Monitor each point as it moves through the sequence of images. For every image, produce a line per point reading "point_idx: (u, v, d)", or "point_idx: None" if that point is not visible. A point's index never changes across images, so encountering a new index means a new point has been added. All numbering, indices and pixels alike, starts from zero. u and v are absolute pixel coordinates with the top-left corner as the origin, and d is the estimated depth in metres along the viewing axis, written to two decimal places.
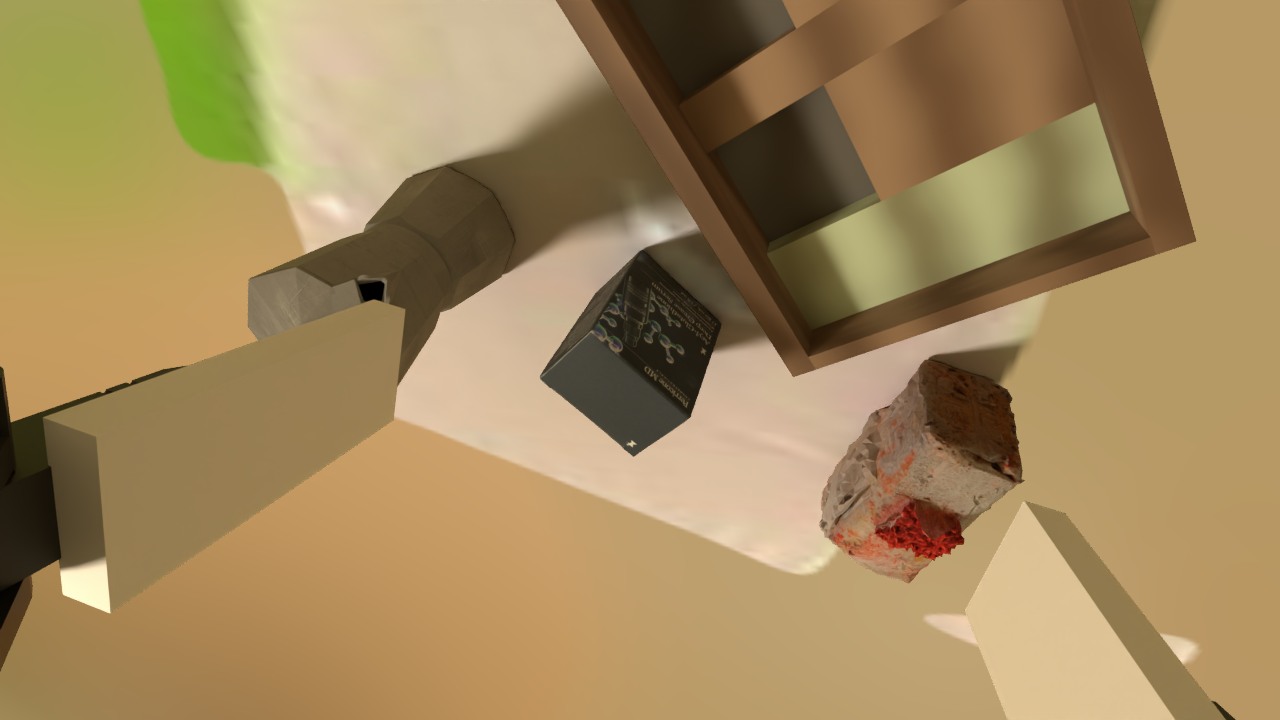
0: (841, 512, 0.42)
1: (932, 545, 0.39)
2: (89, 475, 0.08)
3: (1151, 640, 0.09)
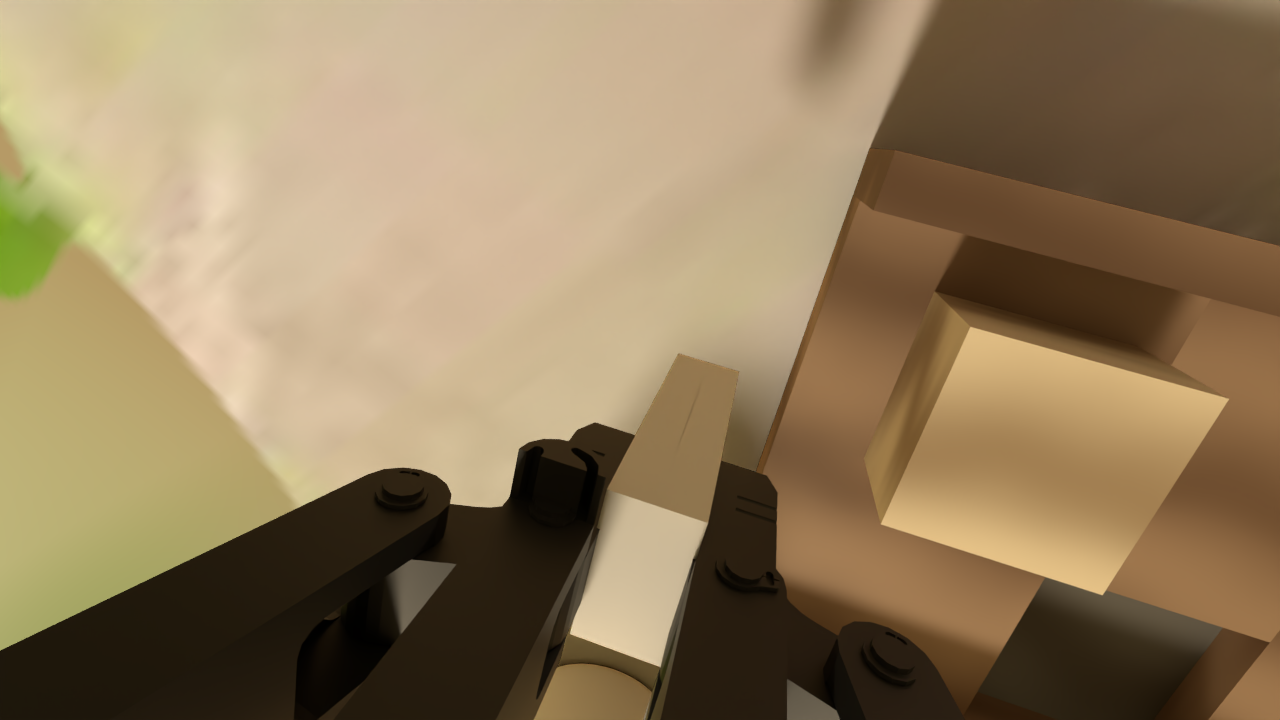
0: None
1: None
2: (636, 537, 0.09)
3: (714, 427, 0.12)
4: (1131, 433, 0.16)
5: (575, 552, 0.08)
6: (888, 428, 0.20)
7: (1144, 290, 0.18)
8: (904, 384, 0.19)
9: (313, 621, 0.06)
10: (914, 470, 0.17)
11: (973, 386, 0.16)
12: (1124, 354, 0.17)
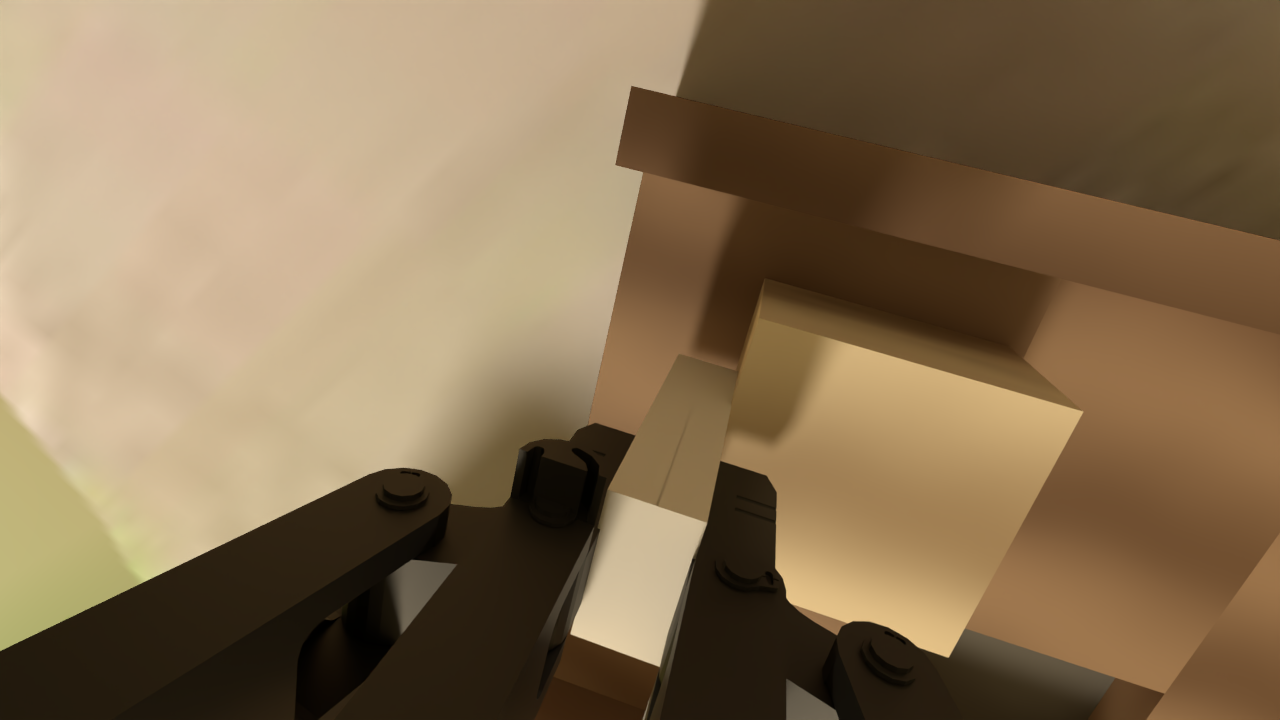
0: None
1: None
2: (637, 537, 0.09)
3: (714, 427, 0.12)
4: (965, 454, 0.12)
5: (576, 552, 0.08)
6: None
7: (983, 266, 0.15)
8: None
9: (313, 622, 0.06)
10: None
11: (770, 395, 0.12)
12: (974, 354, 0.13)
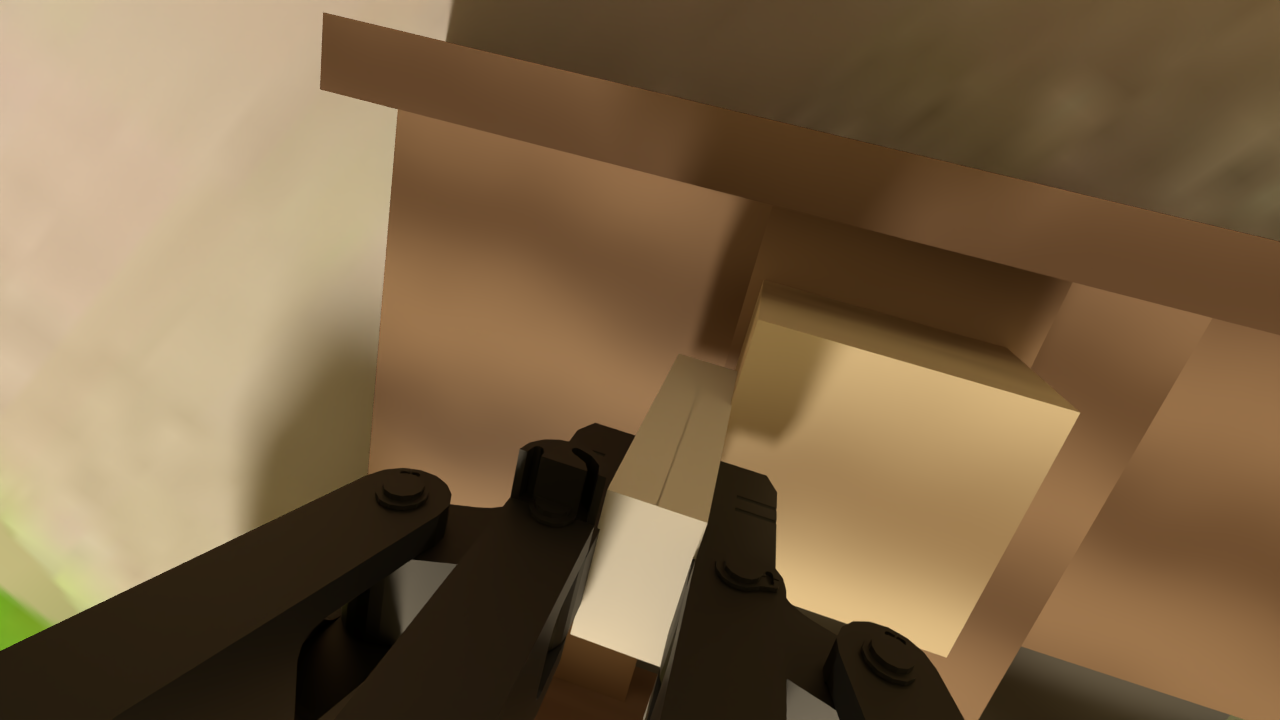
0: None
1: None
2: (637, 537, 0.09)
3: (715, 427, 0.12)
4: (964, 455, 0.12)
5: (575, 552, 0.08)
6: None
7: (703, 195, 0.16)
8: None
9: (314, 621, 0.06)
10: None
11: (768, 396, 0.13)
12: (972, 355, 0.14)
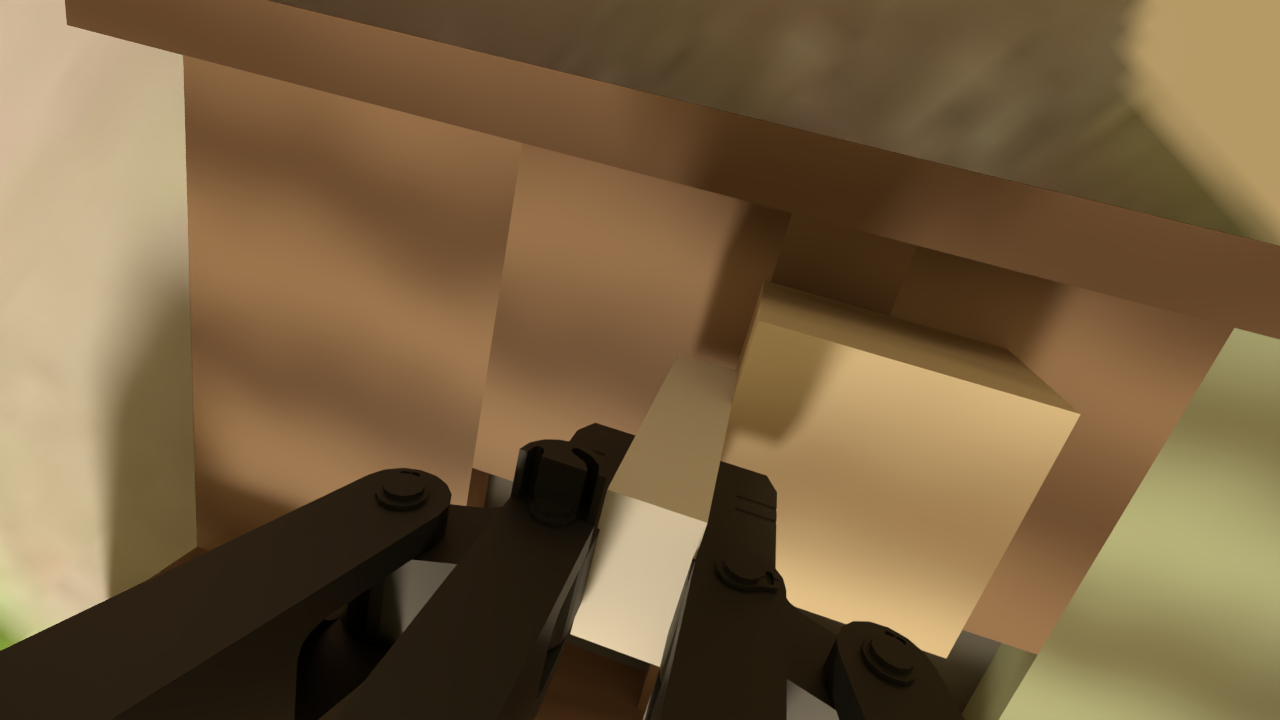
0: None
1: None
2: (637, 537, 0.09)
3: (714, 427, 0.12)
4: (964, 457, 0.12)
5: (575, 552, 0.08)
6: None
7: (460, 133, 0.16)
8: None
9: (314, 621, 0.06)
10: None
11: (769, 397, 0.13)
12: (972, 357, 0.14)
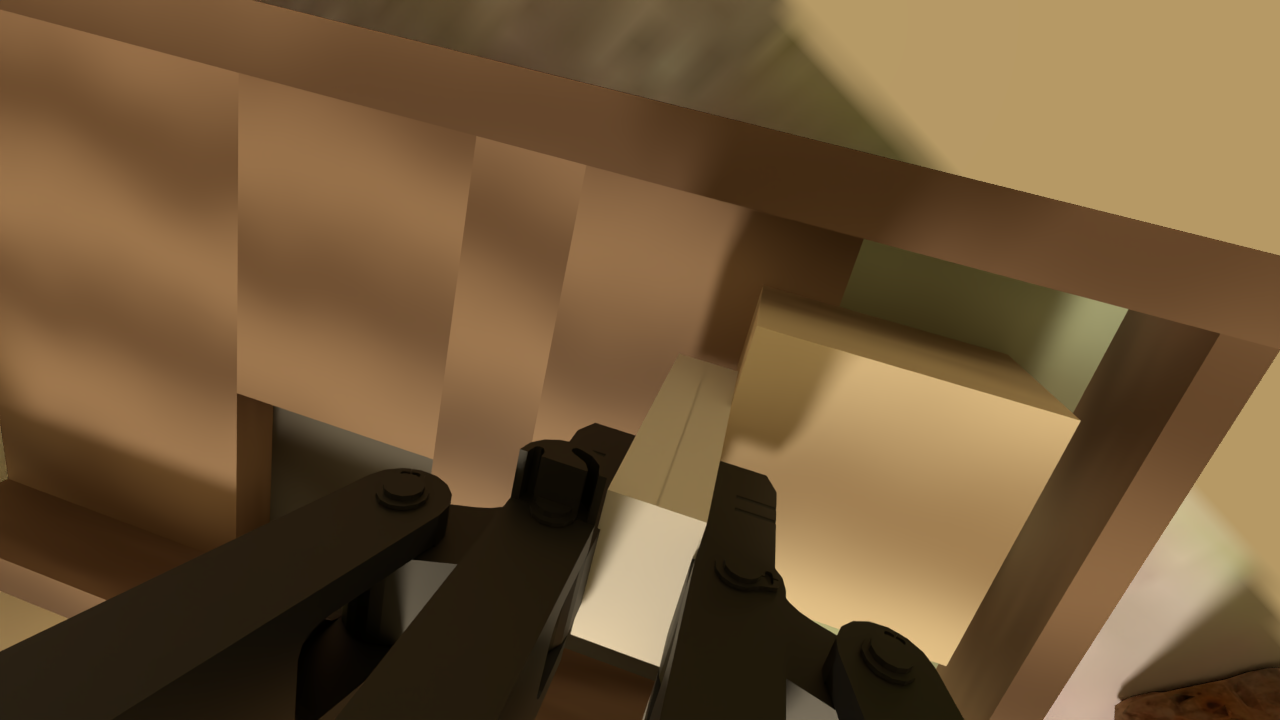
0: None
1: None
2: (637, 537, 0.09)
3: (714, 427, 0.12)
4: (963, 463, 0.12)
5: (576, 552, 0.08)
6: None
7: (185, 64, 0.17)
8: None
9: (314, 621, 0.06)
10: None
11: (767, 402, 0.12)
12: (972, 362, 0.13)
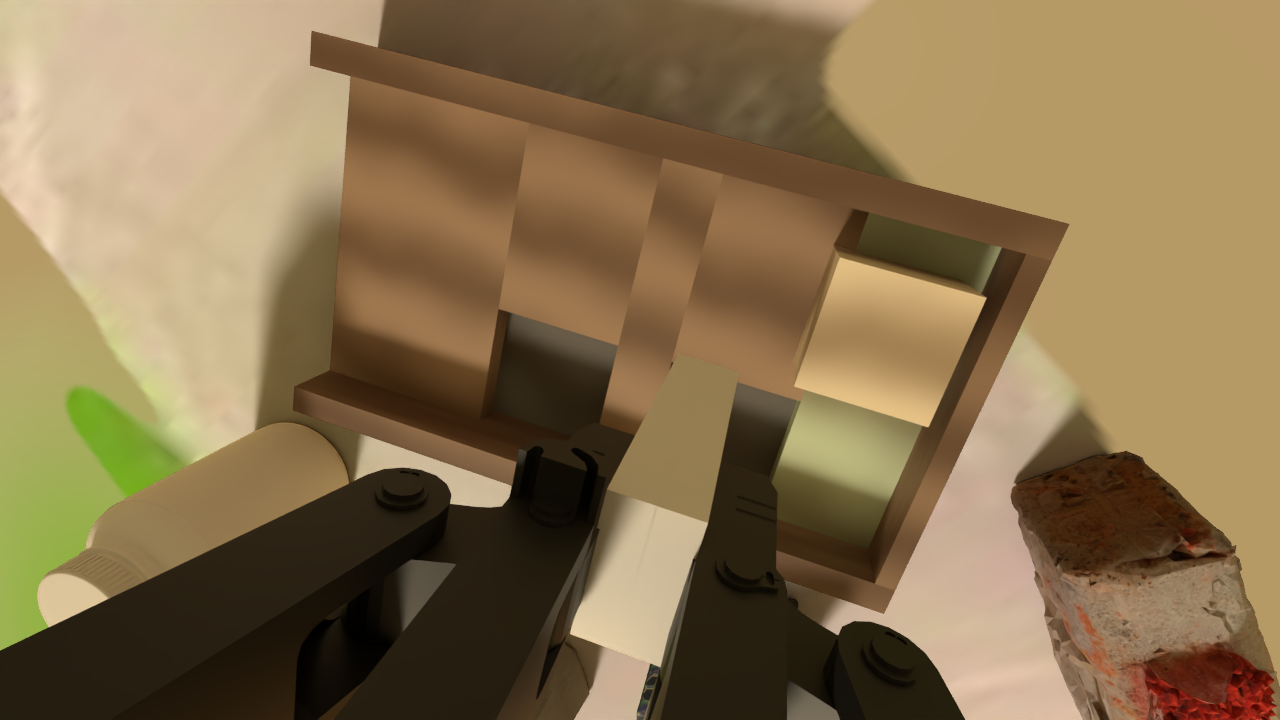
0: None
1: (1240, 709, 0.25)
2: (636, 537, 0.09)
3: (715, 427, 0.12)
4: (935, 320, 0.26)
5: (575, 552, 0.08)
6: (804, 334, 0.30)
7: (497, 120, 0.32)
8: (814, 305, 0.30)
9: (312, 621, 0.06)
10: (812, 349, 0.28)
11: (843, 294, 0.27)
12: (941, 279, 0.28)
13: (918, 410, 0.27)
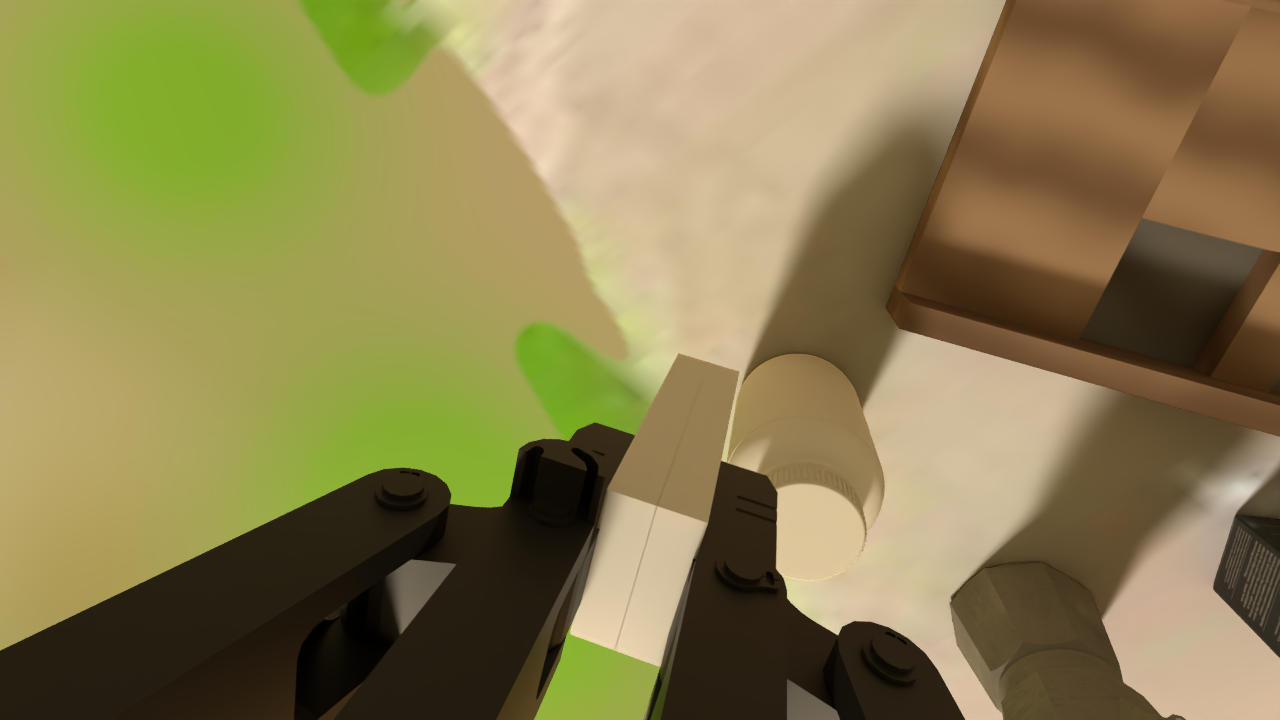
0: None
1: None
2: (636, 537, 0.09)
3: (715, 427, 0.12)
4: None
5: (575, 552, 0.08)
6: None
7: (1208, 8, 0.30)
8: None
9: (313, 621, 0.06)
10: None
11: None
12: None
13: None
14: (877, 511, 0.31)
